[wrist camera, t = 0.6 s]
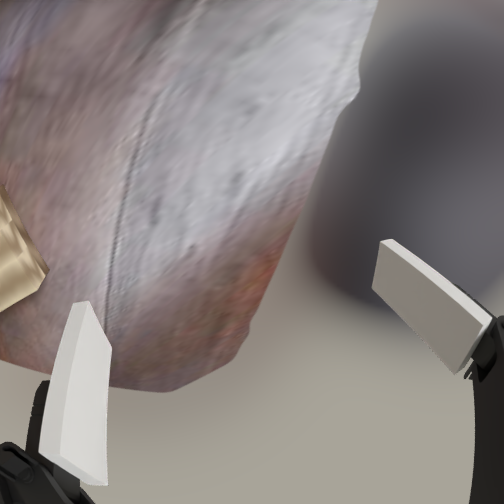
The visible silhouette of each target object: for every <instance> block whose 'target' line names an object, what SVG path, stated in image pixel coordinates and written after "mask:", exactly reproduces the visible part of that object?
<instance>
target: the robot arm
mask: <svg viewBox="0 0 504 504" xmlns="http://www.w3.org/2000/svg"><path fill="white" fill-rule="evenodd" d="M372 289H373V290H374V291H375V292H376V293H377V294H378V295H379V296H380V297H381V298H383V300H384V301H385V302H386V303H387V304H388V305H389V306H390V307H391V308H392V309H393V310H394V311H395V312H396V313H397V314H398V315H399V316H400V317H401V318H402V319H403V320H404V321H405V322H406V323H407V324H408V325H409V326H410V327H411V328H412V329H413V330H414V332H416V334H418V336H419V337H420V338H421V339H422V340H423V341H424V342H425V343H426V344H427V345H428V346H429V348H430V349H432V351H433V352H434V353H435V354H436V355H437V356H438V357H439V358H440V360H441V361H442V362H443V363H444V364H445V365H446V366H447V367H448V368H449V370H450V371H451V372H452V373H453V374H454V375H455V374H456V373H457V372H458V371H460V370H461V369H462V368H464V367H465V365H466V364H467V362H468V361H469V359H470V358H472V359H473V360H474V361H473V362H472V364H471V365H470V367H469V369H468V370H467V371H466V373H465V375H464V379H466V378H467V377H468V375H469V374H470V372H471V371H472V374H471V375H470V377H469V379H471V380H473V390H474V405H475V453H474V468H473V478H472V487H471V494H470V500H469V504H504V316H499V317H498V318H496V317H495V316H494V315H492V314H491V313H490V312H489V311H488V310H487V309H486V308H484V307H483V306H482V305H481V304H480V303H479V302H477V301H476V300H475V299H473V298H472V297H471V296H470V295H469V294H467V293H466V292H465V291H464V290H463V289H461V288H460V287H459V286H458V285H456V284H454V283H452V282H449V281H448V280H447V279H446V278H444V277H443V276H442V275H440V274H439V273H438V272H437V271H435V270H434V269H433V268H431V267H430V266H429V265H427V264H426V263H425V262H423V261H422V260H420V259H419V258H418V257H417V256H415V255H414V254H412V253H411V252H410V251H408V250H407V249H405V248H404V247H403V246H401V245H400V244H398V243H397V242H395V241H394V240H393V239H388V240H384V241H380V247H379V252H378V258H377V264H376V270H375V275H374V280H373V285H372ZM111 353H112V347H111V345H110V343H109V341H108V339H107V337H106V335H105V334H104V332H103V330H102V328H101V326H100V324H99V321H98V319H97V317H96V315H95V313H94V311H93V309H92V307H91V304H90V302H89V301H83V302H78V303H73V305H72V308H71V311H70V314H69V317H68V320H67V323H66V326H65V329H64V332H63V336H62V339H61V342H60V346H59V349H58V353H57V356H56V360H55V364H54V368H53V372H52V376H51V380H47V381H42V382H41V384H40V386H39V387H38V389H37V391H36V393H35V397H34V402H33V405H34V406H33V407H32V412H31V415H32V416H31V417H30V423H29V428H28V435H27V441H26V449H25V451H24V450H23V449H21V448H20V447H19V446H17V445H16V444H14V443H12V442H4V443H2V444H0V504H95V503H94V502H93V501H92V499H91V498H90V497H89V496H88V495H87V493H86V492H85V491H84V490H83V489H82V488H81V487H80V480H81V481H83V482H85V483H87V484H88V485H102V486H108V477H107V438H106V437H107V400H108V385H109V372H110V362H111Z"/></svg>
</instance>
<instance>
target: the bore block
mask: <svg viewBox="0 0 504 504" xmlns="http://www.w3.org/2000/svg"><path fill="white" fill-rule="evenodd" d="M48 271H49V268H48V267H47V265H46V263H45V262H44V260H43V259H42V257H41V255H40V254H39V252H38V250H37V249H36V247H35V245H34V244H33V242H32V240H31V239H30V237H29V235H28V233H27V231H26V230H25V228H24V226H23V224H22V222H21V220H20V218H19V216H18V214H17V212H16V210H15V208H14V206H13V204H12V202H11V200H10V198H9V196H8V194H7V192H6V189H5V187H4V185H1V186H0V312H1V311H2V310H4V309H6V308H7V307H9V306H11V305H12V304H14V303H16V302H18V301H19V300H21V299H23V298H24V297H26V296H28V295H30V294H31V293H33V292H35V291H37V290H38V288H39V286H40V285H41V283H42V281H43V280H44V278H45V276H46V275H47V273H48Z"/></svg>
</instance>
